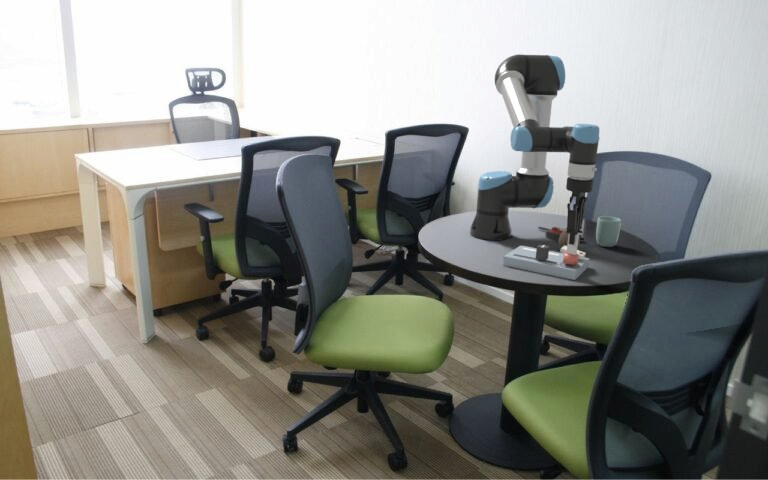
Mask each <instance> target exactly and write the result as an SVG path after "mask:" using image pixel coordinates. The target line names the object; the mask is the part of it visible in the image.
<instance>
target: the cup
mask: <svg viewBox="0 0 768 480" xmlns="http://www.w3.org/2000/svg"><path fill="white" fill-rule="evenodd" d="M621 224H622V220H621V219H620V218H619V217H615V216H609V215H601V216H598V218H597V224H596V233H595V238H596V243H597V244H598V245H599V246H600V247H605V248H613V247H614V246H616V245H617V243H618V240H619V235H620V231H621V227H622V226H621Z"/></svg>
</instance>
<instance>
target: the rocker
mask: <svg viewBox="0 0 768 480" xmlns="http://www.w3.org/2000/svg"><path fill="white" fill-rule="evenodd" d="M559 250H560V251H559V253H563V254H564V253H565V252H567V246H563V247H562V248H561V249H559ZM577 254H578V255H579V257H578V259H583V258H584V257H585V258H586V254H587V253H586V252H584V251H581V250H579V249H577Z"/></svg>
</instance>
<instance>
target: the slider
mask: <svg viewBox="0 0 768 480" xmlns="http://www.w3.org/2000/svg"><path fill="white" fill-rule="evenodd" d="M536 248H537V250H536V259H538V260H543V261H545V260H547V259H548V254H549V251H550V245H545V244H539V245H537V246H536Z"/></svg>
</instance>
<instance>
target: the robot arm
mask: <svg viewBox="0 0 768 480" xmlns="http://www.w3.org/2000/svg"><path fill="white" fill-rule="evenodd" d="M565 83H566V69H565V64H564V62H563V60H562V59H561V58H560V57H559V56H558V55H557V56H556V55H549V54H546V55H545V54H521V53H520V54H514V55H511V56H509V57H507V58H505V59H504V60H503V61H501V63H499V65H498V67H497V69H496V71H495V74H494V85H495V89H496V91H497V92H498V93H499V94H500V95H502V98H503V101H504V104H505V107H506V110H507V112H508V115H509V118H510V121H511V124H512V126H513V128H512V129H511V132H510V139H509V140H510V147H511V150H513V151H514V152H522V155H521V165H520V167H519V168H517V169H516V173H515V174H516V175H512V173H511V172H510V171H506V170H505V171H501V170H498V171H497V170H496V171H489V172H485V173H482V175H480V176H479V179H478V185H477V198H476V202H477V203H476V213H475V216H474V219H473V221H472V223H471V226H470V229H469V230H470V232H469V234H470V235H471V236H472V237H475V238H478V239H481V240H482V239H483V240H487V241H488V240H489V241H503V240H507V239H511V237H512V226H511V223H510V219H509V210H510V209H511V208H513V209H517V208H518V209H521V208H522V209H538V208H539V209H540V208H541V209H542V208H545V207H547V205H549V203H550V202H551V200H552V196H553V194H554V187H555V186H554V179H553V178H552V177H551V176H549V175H550V172H549V171H548V170H547V168H546V166H547V165H546V162H547V153H568V154H569V160H568V167H567V174H566V175H567V176H568V177H567V179H566V185H565V189H566V190H567V191H568V192H571V196H570V197H569V202H568V203H567V205H566V206H567V207H566V208H567V219H566V220H567V222H566V224H567V225H566V228H567V231H566V233H569V235H568V244H567V252H566V254H571V255H576V254H577V250H578V249H577V246H578V238H579V234H583V230H582V229H583V222H584V217H585V211H586V206H587V202H588V197H587V196H586V193H587V194H588V193H592V191H593V188H594V181H595V180H594V179H593V178H594V177H595V172H597V170H598V168H597V167H596V164H597V156H598V149H599V148H598V147H599V143H600V142H599V141H600V127H599V125H597V124H593V123H592V124H591V123H590V124H589V123H576V124H574V125H573V126H568V125H567V126H566V125H565V126H562V127H560V126H559V127H557V126H556V127H553V126H551V127H550V124H551V115H552V105H553V101H554V99H556V97H558V92H560V91H561V90H563V88H564V86H565ZM509 208H510V209H509Z"/></svg>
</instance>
